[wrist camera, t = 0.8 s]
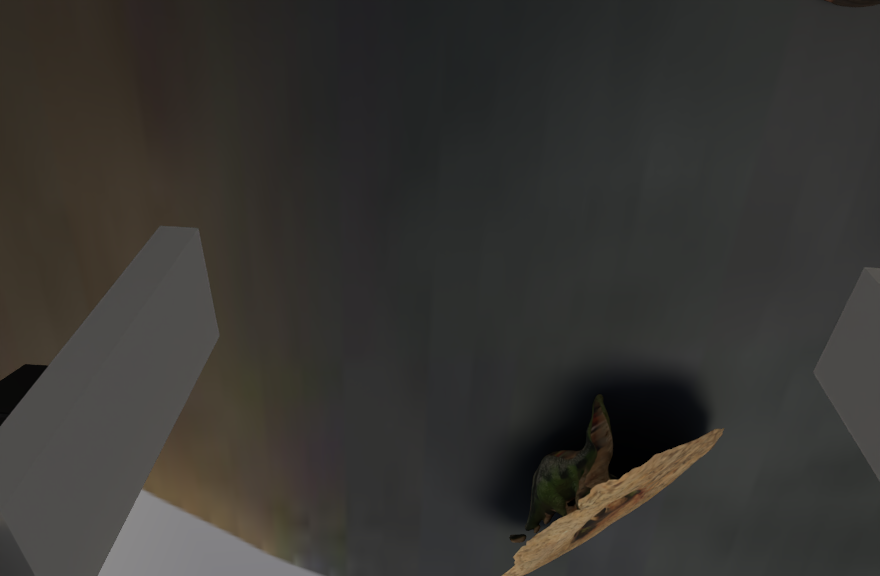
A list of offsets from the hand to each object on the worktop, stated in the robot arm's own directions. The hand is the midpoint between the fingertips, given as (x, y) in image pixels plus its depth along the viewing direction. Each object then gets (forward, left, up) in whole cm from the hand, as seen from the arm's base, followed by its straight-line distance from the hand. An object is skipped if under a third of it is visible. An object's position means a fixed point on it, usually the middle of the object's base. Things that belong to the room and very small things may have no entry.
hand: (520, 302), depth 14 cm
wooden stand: (+25, +7, -22) cm, 34 cm away
